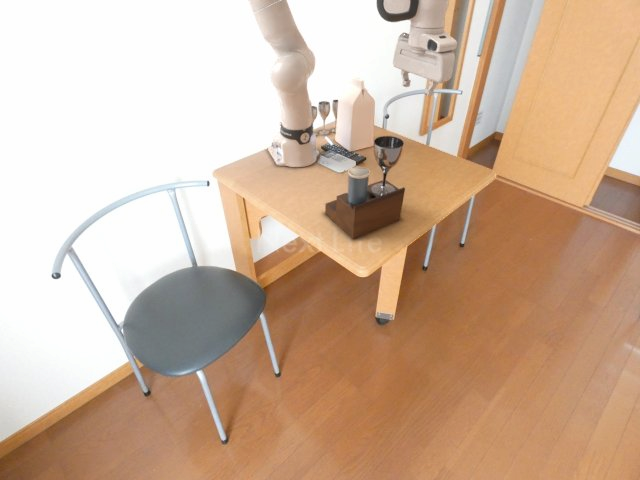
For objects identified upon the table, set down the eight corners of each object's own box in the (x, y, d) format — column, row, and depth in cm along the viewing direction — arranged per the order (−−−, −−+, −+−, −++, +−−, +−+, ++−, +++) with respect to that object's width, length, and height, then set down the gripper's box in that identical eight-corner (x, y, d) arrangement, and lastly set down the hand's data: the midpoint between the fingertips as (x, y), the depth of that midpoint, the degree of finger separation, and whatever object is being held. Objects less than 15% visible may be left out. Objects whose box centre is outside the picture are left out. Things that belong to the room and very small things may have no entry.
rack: (325, 213, 118) (325, 182, 110) (370, 197, 125) (373, 166, 117) (352, 239, 108) (355, 206, 100) (400, 219, 115) (405, 188, 108)
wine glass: (395, 198, 106) (403, 150, 97) (368, 195, 107) (372, 147, 98) (397, 184, 112) (404, 137, 103) (371, 181, 113) (375, 135, 104)
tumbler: (342, 197, 107) (344, 169, 101) (359, 191, 109) (361, 164, 103) (354, 207, 103) (356, 178, 97) (371, 201, 105) (374, 173, 99)
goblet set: (309, 138, 161) (308, 107, 153) (305, 133, 165) (304, 103, 157) (366, 128, 169) (369, 98, 161) (360, 123, 174) (362, 94, 165)
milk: (335, 140, 159) (336, 77, 143) (357, 135, 163) (361, 73, 147) (349, 151, 151) (353, 85, 134) (373, 145, 155) (379, 81, 139)
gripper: (391, 32, 105) (385, 83, 114) (445, 46, 92) (434, 102, 100) (407, 30, 108) (401, 79, 116) (462, 43, 94) (450, 98, 103)
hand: (416, 90), depth 108 cm, fingers open, 8 cm apart
